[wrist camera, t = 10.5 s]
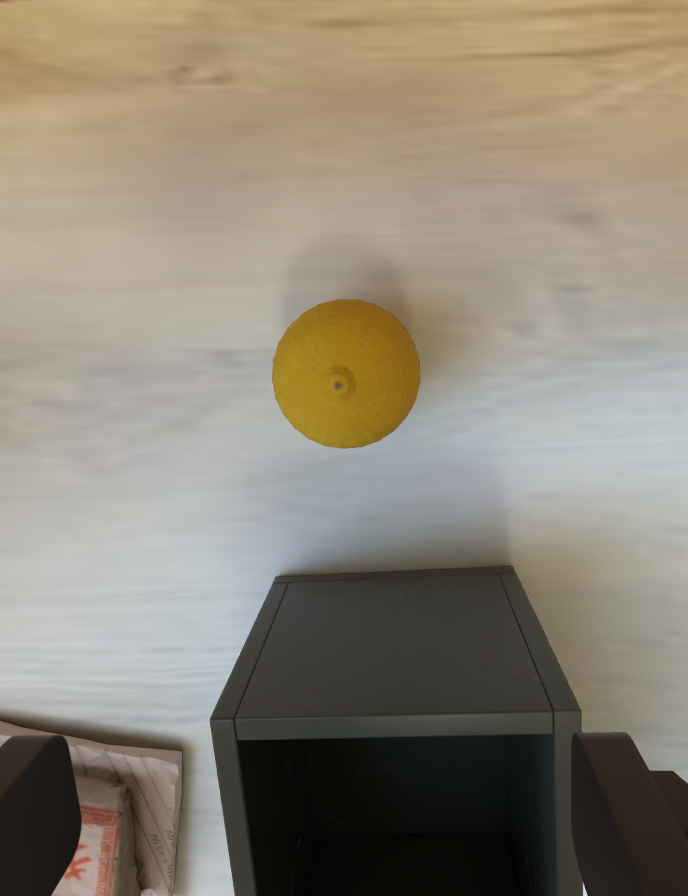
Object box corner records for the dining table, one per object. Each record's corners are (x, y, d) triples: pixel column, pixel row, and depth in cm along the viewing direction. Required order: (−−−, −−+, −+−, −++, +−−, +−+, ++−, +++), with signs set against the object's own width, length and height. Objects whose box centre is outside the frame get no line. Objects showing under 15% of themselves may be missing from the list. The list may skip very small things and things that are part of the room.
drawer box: (275, 576, 29) (208, 719, 19) (512, 565, 28) (582, 710, 18) (304, 834, 32) (260, 1083, 22) (521, 833, 31) (585, 1094, 21)
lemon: (323, 446, 28) (295, 496, 20) (271, 334, 27) (221, 339, 19) (436, 398, 27) (452, 430, 19) (386, 280, 26) (382, 263, 18)
